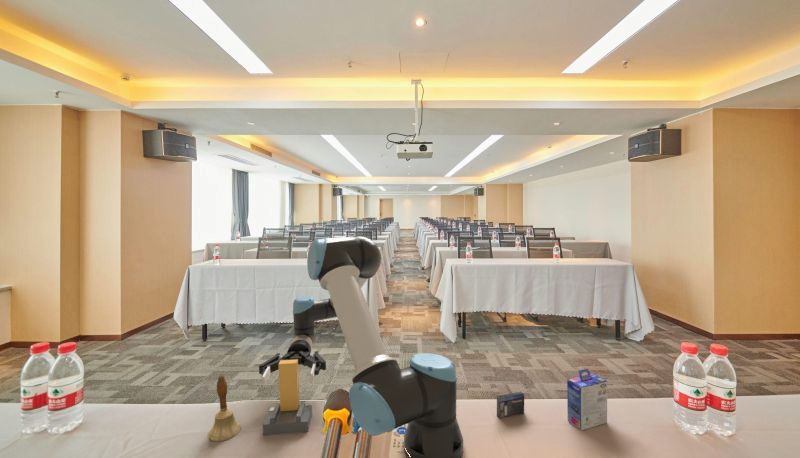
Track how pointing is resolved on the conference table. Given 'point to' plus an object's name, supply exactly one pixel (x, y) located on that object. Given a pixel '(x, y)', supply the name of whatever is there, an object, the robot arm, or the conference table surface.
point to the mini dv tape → (510, 404)
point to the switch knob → (289, 385)
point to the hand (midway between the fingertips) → (287, 379)
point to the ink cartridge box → (587, 400)
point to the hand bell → (223, 417)
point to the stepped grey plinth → (287, 420)
